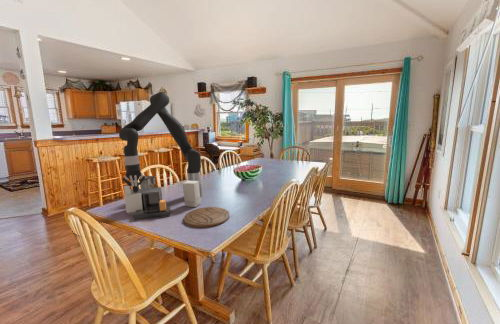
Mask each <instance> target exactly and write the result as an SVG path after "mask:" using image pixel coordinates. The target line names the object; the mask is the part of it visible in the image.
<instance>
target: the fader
mask: <svg viewBox="0 0 500 324" xmlns="http://www.w3.org/2000/svg"><path fill="white" fill-rule="evenodd" d="M159 205H160V211H163V210H166V207H167V199H162V200H160V202H159Z"/></svg>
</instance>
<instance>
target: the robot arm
mask: <svg viewBox="0 0 500 324" xmlns="http://www.w3.org/2000/svg"><path fill="white" fill-rule="evenodd" d="M169 103H170V97H169V95H168V94H167V93H166V92H162V91H160V92H156V93H155V94H153V95H150V98H149V104H150V105H148V106H147V107H145V108H144V109H143V110H142V111H141V112H140V113H138V114H137V115H136V116H135V118H134V119H132V120H131V122H129V123H126V125H124V126H123V127H122V128H121V129H120V131H119V133H118V136H119V139H120V140H121V141H125V142H126V145H124V146H123V156H124V166H125V175H124V176H123V177H122V178H121V179H122V181H123V182H124V183H125V184H126V185H129V186H130V187H132V190H133V192H134V193H136V192H138V190H139V189H140V188H139V186H140V184H141V183H142V181H143V180H144V178H145V177H146V176H147V175H145V174H142V172H141V164H140V158H139V152H138V144H139V133H138V132H140V131H143V129H144V128H145V127H146V126H147V125H148V124H149V123H150V121H151V120H152V119H154V118H155V116H156V115H158V117H159V118H160V119H161V121H162V122H163V124H164V126H165V127H166V129H167V131H168V132H169V133H170V135H171V137H172V139H173V140H174V141H175V142H176V144H177V145H178V147H179V148H180V150H181V153H182V155H183V157H184V158H185V161H187V169H186V173H187V175H186V176H187V181H198V182H199V191H200V197H202V196H203V192H202V191H203V190H202V178H201V177H202V176H201V168H202V157H201V153H200V152H199V151H198V150H196V149H195V148H194V147H193V146H192V145H191V143H190V142H189V140H188V137H187V136H188V135H187V133H186V130H185V128H184V127H183V125H182V123H181V122H180V121H179V119H177V118H176V117H175V116H173V115H172V114H171V113H170V112H169V110H168V109H167V106H169ZM139 179H141V180H139Z"/></svg>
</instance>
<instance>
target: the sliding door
mask: <svg viewBox="0 0 500 324" xmlns="http://www.w3.org/2000/svg"><path fill="white" fill-rule="evenodd" d="M123 189H124V190H123V192H124V203H125V210H126V214H128V213H131V212H136V210H143V205H142V196H141V193H139V194H131V190H132V189H131V186H129V185H128V184H126V185H123Z"/></svg>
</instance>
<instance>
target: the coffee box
mask: <svg viewBox="0 0 500 324" xmlns="http://www.w3.org/2000/svg"><path fill="white" fill-rule="evenodd" d="M145 176H146V177H145V178H144V180H143V181H142V183H141V184H140V185H139V187H140V188H139V189H144V188H156V187H157V181H156V176H155V175H145ZM140 180H141V178H139V179H138V181H140Z"/></svg>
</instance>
